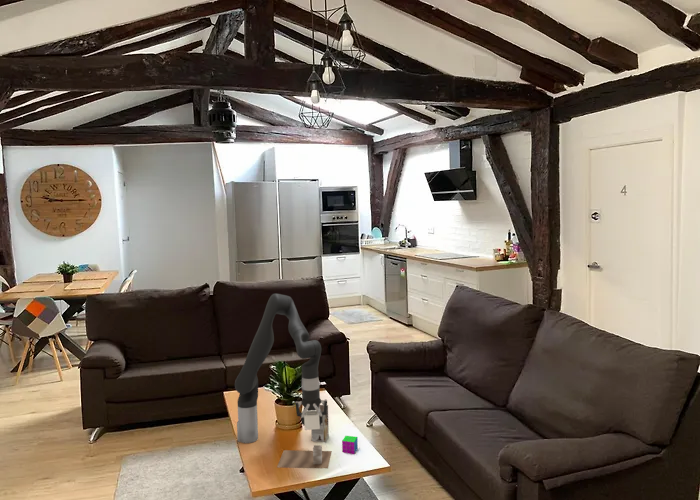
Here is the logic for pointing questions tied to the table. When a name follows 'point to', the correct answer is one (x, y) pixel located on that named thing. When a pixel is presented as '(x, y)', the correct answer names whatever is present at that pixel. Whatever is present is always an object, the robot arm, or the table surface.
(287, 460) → the post board
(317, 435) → the coffee box
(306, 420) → the hollow square box
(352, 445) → the puzzle toy
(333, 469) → the table surface
